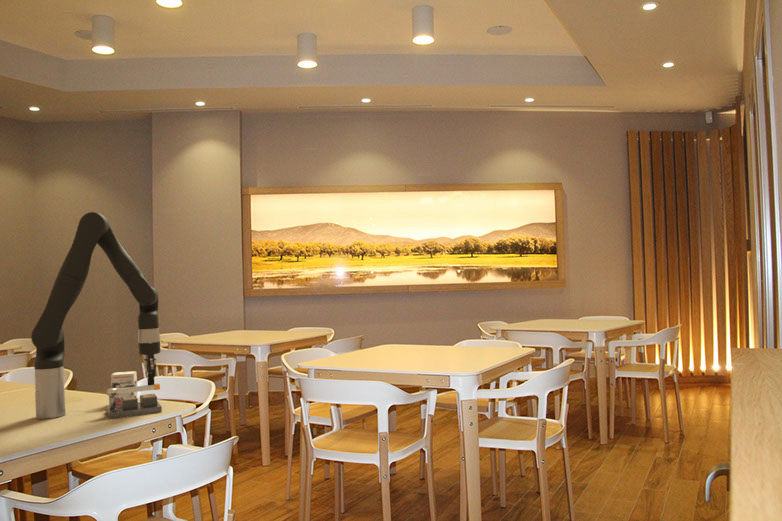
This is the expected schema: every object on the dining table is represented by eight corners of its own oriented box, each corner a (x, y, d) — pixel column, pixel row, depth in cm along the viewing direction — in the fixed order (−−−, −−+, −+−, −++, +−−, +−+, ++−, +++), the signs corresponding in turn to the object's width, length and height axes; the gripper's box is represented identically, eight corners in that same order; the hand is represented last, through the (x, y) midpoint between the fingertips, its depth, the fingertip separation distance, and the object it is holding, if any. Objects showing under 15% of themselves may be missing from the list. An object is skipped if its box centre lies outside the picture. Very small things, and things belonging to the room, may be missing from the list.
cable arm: (107, 395, 233) (107, 390, 233) (106, 394, 236) (106, 388, 236) (160, 389, 241) (159, 384, 241) (158, 388, 244) (158, 383, 244)
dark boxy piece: (109, 418, 228) (108, 399, 228) (107, 411, 241) (106, 393, 241) (161, 412, 236) (160, 393, 236) (156, 405, 248) (155, 387, 248)
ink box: (111, 405, 253) (110, 374, 253) (115, 403, 257) (113, 372, 258) (135, 404, 254) (133, 372, 254) (138, 401, 259) (136, 371, 259)
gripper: (136, 340, 250) (138, 386, 250) (140, 343, 238) (142, 392, 238) (157, 338, 253) (159, 384, 253) (162, 341, 241) (164, 389, 241)
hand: (151, 388), depth 246 cm, fingers closed
